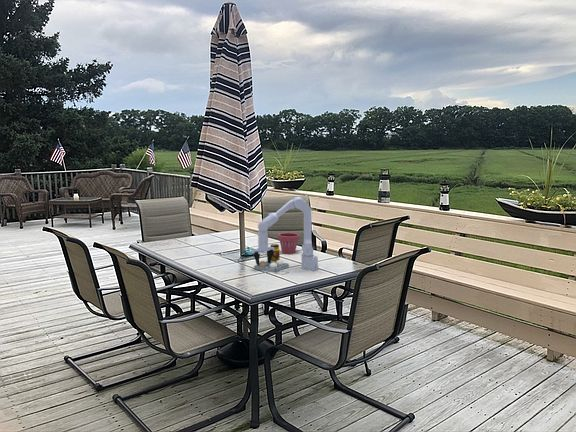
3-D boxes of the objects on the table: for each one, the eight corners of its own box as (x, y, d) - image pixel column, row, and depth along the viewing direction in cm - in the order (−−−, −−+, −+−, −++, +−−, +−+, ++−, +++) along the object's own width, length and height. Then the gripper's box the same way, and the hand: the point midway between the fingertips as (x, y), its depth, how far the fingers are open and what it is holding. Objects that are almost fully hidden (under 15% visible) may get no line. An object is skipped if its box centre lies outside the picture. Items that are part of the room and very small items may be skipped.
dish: (289, 273, 272) (289, 272, 272) (283, 276, 267) (283, 274, 267) (280, 272, 275) (280, 270, 275) (274, 274, 270) (274, 273, 270)
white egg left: (278, 269, 278) (278, 262, 277) (274, 271, 274) (274, 263, 273) (272, 268, 280) (272, 261, 279) (267, 270, 276) (267, 262, 275)
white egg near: (284, 267, 283) (284, 259, 283) (280, 268, 280) (280, 261, 279) (278, 266, 286) (278, 258, 285) (274, 267, 282) (274, 260, 281)
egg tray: (288, 268, 284) (288, 263, 284) (275, 274, 272) (275, 269, 271) (268, 265, 292) (268, 260, 291) (254, 270, 279) (254, 265, 279)
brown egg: (268, 267, 279) (266, 260, 278) (262, 270, 277) (260, 263, 276) (264, 265, 283) (262, 259, 282) (258, 269, 281) (256, 262, 280)
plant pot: (303, 252, 325) (303, 234, 323) (287, 255, 316) (287, 237, 315) (290, 249, 336) (290, 231, 334) (274, 252, 328) (274, 234, 326)
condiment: (276, 265, 292) (276, 246, 290) (265, 263, 296) (264, 244, 295) (282, 262, 298) (282, 244, 297) (271, 261, 303) (270, 242, 301)
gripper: (255, 243, 271) (255, 266, 273) (277, 241, 278) (277, 263, 280) (249, 241, 277) (250, 264, 279) (271, 239, 284) (271, 261, 286)
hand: (263, 263), depth 280 cm, fingers open, 7 cm apart
